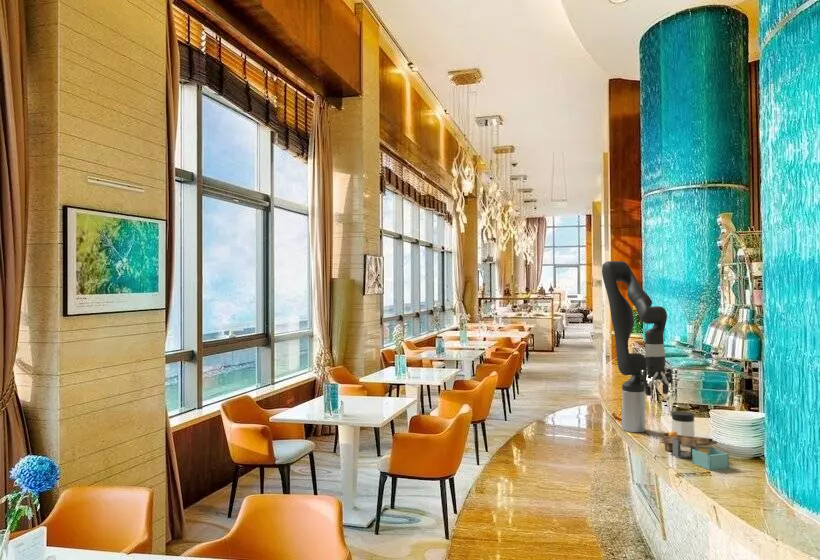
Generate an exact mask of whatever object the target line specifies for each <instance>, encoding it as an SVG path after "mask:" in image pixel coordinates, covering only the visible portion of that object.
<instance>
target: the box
mask: <svg viewBox="0 0 820 560" xmlns="http://www.w3.org/2000/svg"><path fill="white" fill-rule="evenodd" d="M729 455H730V454H729V453H727V452H724V451H721V450H719V449H717V448H714V447H710V446H709V453H708V452H707V453H704V452H702V451H699V450H698V451H697V450H694V449H692V458H691V459H692V460H691V463H692V464H693V463H694V464H693V465H696V464H697V465H696V466H698V465H699V467H700V466H701V467H700V468H704V469H705V468H706V470H708V471H715V470H717V471H718V470H726V469H729V468H730V467H729V466H730V465H729V463H730V462H729V460H730V459H729Z"/></svg>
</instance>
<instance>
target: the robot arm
mask: <svg viewBox="0 0 820 560" xmlns="http://www.w3.org/2000/svg"><path fill="white" fill-rule="evenodd" d="M601 276H602V280H603V283H604V287H605V291H606V295H607V298H608V304H609V310H610V311H609V312H610V317H611V324H612V327H613V333H614V338H615V339H614V340H615V349H616V352H615V353H616V361H617V368H618V370H619V372H620V374H621V375H623V376H630V378H628V380H627V381H624V382H623V383H622V384H621V386H622V387H621V396H622V399H621V400H622V403H621V404H622V405H621V407H620V408H621V429H622V430H623V431H626V432H628V433H629V432H630V433H643V432H645V431H646V396H649V397H650V396H652V387H651V385H652V383H653V382H655V381H658V380H659V381H660V383H662V388H661V389H662V394H664V395H668V394H669V385H670V384H672V383H673V375H672V368H668V367H666V349H665V341H664V332H665V329H666V328H665V327H666V324H667V320H668V313H667V310H666V308H665V307H663V306H659V305H658V306H652V304H653V301H652V298H651V297H650V296H649V295H648V293H646V291H645V290H644V289H643V288H642V286H641V285H640V283H639V281H638V280H637V278H636V276H635V274H634V272H633V271H632V269H631V267H630V266H629V264H628V263H627V262H625V261H622V260H614V261H613V260H612V261H611V260H610V261H608V260H607V261H605V262H604V263H603V264H602V266H601ZM618 282H622V283H624V284H625V285H626V287H627V290H626V291H627V297H628V300H629V301H630V303H631V304H633V306H634V307H635V309H636V312H637V315H638V317H639V320H640V321H641V322H642V323H643V324H647V325H650V324H651V325H652V324H653V326H652V328H649V329H647V330H646V331H645V332H644V333H645V334H644V337H645V339H644V340H645V343H644V344H645V346H644V347H645V349H644V351H645V352H644V353H645V356H644V354H642V353H637V352H636V353H635V352H634V353H630V351H629V339H630V337H631V334H632V332H633V329H634V327H635V317H634V313H633V308H632V306H631V305H630V303H629V302H628V301H627V299H626V298H625V296H624V295H623V294H622V292H621V291H620V289H619V286H618Z"/></svg>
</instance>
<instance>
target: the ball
mask: <svg viewBox="0 0 820 560" xmlns="http://www.w3.org/2000/svg"><path fill="white" fill-rule="evenodd" d="M668 433H669V436H671V437H678V434H677V433H676V432H675V431H672V430H670V431H668Z"/></svg>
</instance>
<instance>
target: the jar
mask: <svg viewBox="0 0 820 560" xmlns="http://www.w3.org/2000/svg"><path fill="white" fill-rule="evenodd" d="M695 426H696V425H695V413H693V412H691V411H686V410H684V411H683V410H675V411H672V412H671V431H675V432H677V434H678V435H683V436H692V437H694V435H696V431H695V428H696V427H695Z"/></svg>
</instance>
